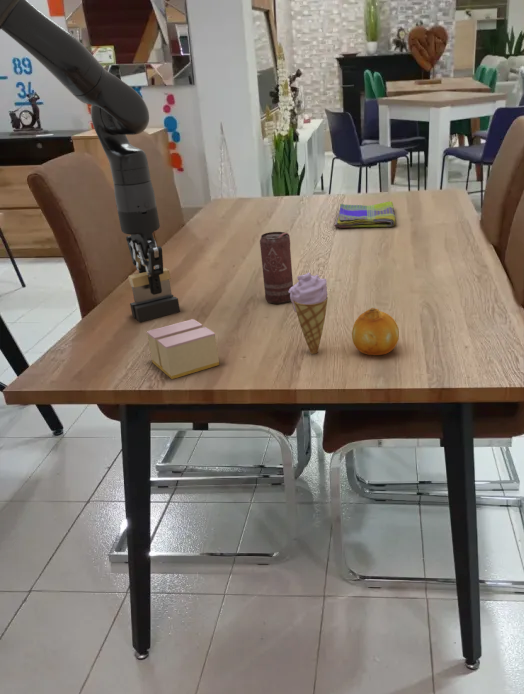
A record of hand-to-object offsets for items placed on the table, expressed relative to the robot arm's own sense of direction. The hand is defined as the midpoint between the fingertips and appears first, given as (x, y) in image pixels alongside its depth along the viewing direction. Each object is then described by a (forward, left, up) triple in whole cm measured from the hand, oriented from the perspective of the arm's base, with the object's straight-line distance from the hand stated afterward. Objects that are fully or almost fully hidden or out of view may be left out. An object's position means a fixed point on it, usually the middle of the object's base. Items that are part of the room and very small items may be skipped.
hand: (152, 290), depth 143 cm
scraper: (0, 0, -5) cm, 5 cm away
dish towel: (+80, +34, -6) cm, 88 cm away
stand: (0, 0, -5) cm, 5 cm away
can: (+24, -10, -6) cm, 27 cm away
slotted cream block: (-6, -28, -5) cm, 29 cm away
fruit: (+23, -45, -6) cm, 51 cm away
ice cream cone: (+14, -38, -6) cm, 41 cm away
